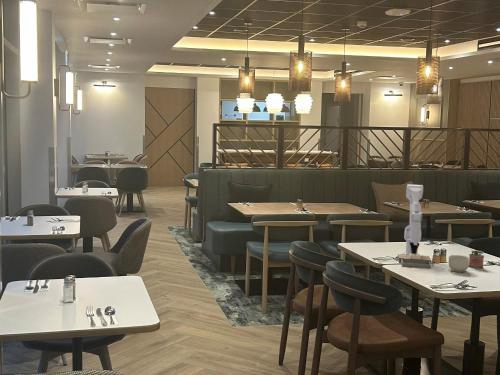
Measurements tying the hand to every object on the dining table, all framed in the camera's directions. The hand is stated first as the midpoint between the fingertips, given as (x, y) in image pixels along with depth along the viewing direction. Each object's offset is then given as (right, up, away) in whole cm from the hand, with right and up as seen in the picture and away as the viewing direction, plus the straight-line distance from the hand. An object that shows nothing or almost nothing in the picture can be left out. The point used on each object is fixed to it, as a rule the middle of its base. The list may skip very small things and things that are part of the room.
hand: (413, 254), depth 360 cm
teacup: (+18, -6, -23) cm, 30 cm away
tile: (-1, -1, -7) cm, 7 cm away
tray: (-3, -4, -15) cm, 16 cm away
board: (-1, -3, -4) cm, 5 cm away
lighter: (+32, -6, -14) cm, 35 cm away
